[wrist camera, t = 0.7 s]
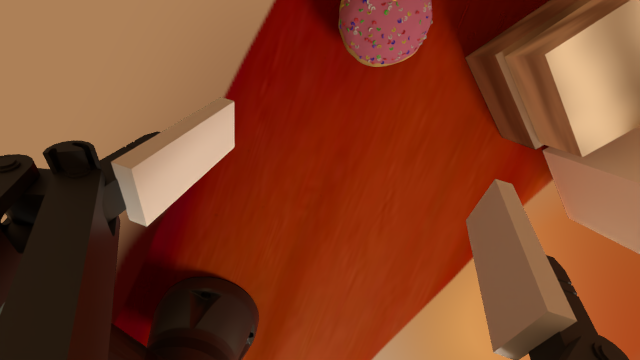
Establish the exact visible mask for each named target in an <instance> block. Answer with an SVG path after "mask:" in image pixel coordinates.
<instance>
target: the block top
mask: <svg viewBox="0 0 640 360" xmlns="http://www.w3.org/2000/svg"><path fill="white" fill-rule="evenodd" d="M505 60H506V62H507V65H508V67H509V69H510V72H511V74H512V77H513V79H514V82H515V84H516V86H517V89H518V91H519V94H520V96H521V98H522V101H523V103H524V106H525V108H526V110H527V113H528V115H529V118H530V120H531V123H532V125H533V127H534V130H535V132H536V135H537V137H538V139H539V142H540V143H541V144H544V145H547V146H550V147H553V148H556V149H559V150H562V151H565V152H568V153H571V154H574V155H577V156H580V157H584V156H586V155H587V154H589V153H591V152H593V151H595V150H596V149H598V148H600V147H602V146H604V145H606V144H607V143H609V142H611V141H613V140H615V139H616V138H618V137H620V136H622V135H624V134H625V133H627V132H629V131H631V130H633V129H634V128H636V127H638V126H640V0H591V1H589V2H588V3H586V4H585V5H583V6H582V7H580V8H579V9H577V10H576V11H574V12H572V13H571V14H569V15H568V16H566V17H565V18H563V19H562V20H560V21H559V22H557V23H556V24H554V25H553V26H551V27H550V28H548V29H547V30H545V31H544V32H542V33H540V34H539V35H537V36H536V37H534V38H533V39H531V40H530V41H528V42H527V43H525V44H524V45H522V46H521V47H519V48H518V49H516V50H515V51H513V52H511V53H510V54H508V55H507V56H505Z"/></svg>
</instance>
